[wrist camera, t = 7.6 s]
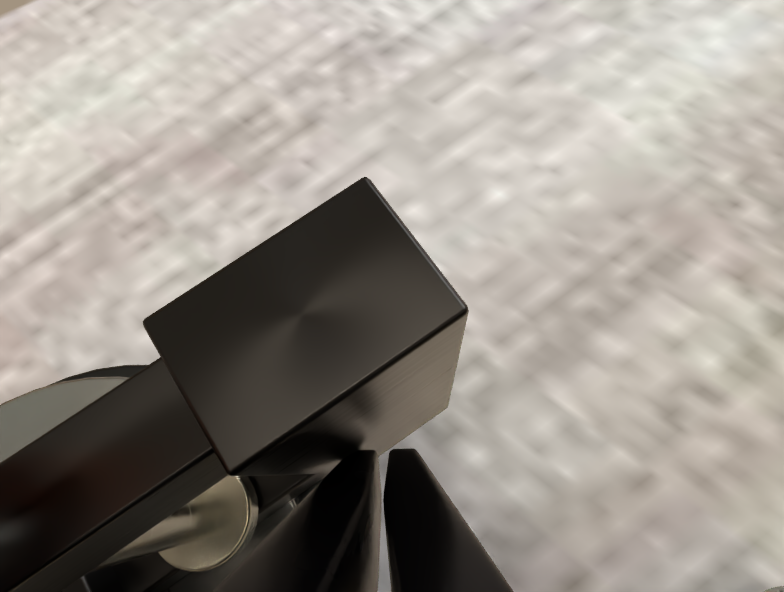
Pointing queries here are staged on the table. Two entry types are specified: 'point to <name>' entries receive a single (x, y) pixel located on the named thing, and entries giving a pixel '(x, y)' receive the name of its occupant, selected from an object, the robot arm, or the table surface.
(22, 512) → the swivel clamp
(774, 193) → the table surface
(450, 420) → the table surface
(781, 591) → the clamp
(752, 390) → the table surface
